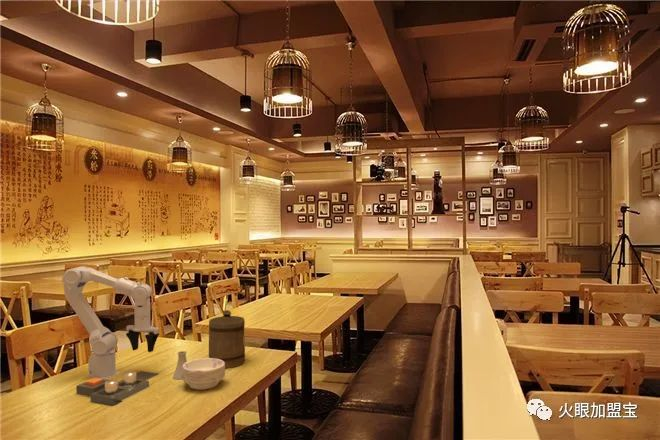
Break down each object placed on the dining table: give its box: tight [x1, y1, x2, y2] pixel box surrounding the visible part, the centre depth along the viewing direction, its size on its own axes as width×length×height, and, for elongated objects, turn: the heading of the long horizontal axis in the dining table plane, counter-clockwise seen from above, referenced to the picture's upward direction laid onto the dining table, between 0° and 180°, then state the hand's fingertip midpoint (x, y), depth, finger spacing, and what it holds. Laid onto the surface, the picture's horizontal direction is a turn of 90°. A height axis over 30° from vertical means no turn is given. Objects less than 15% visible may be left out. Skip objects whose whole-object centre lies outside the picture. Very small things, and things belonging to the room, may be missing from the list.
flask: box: [172, 350, 188, 381], centre depth 172 cm, size 7×7×10 cm
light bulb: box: [105, 379, 119, 396], centre depth 153 cm, size 4×4×6 cm
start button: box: [85, 377, 104, 386], centre depth 160 cm, size 4×4×3 cm
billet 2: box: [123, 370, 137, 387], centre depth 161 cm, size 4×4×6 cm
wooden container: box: [208, 309, 246, 369], centre depth 189 cm, size 15×15×22 cm
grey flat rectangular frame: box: [90, 378, 150, 407], centre depth 157 cm, size 10×16×2 cm, turn 159°
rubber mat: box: [136, 370, 159, 381], centre depth 173 cm, size 9×9×1 cm
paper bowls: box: [181, 357, 226, 391], centre depth 165 cm, size 15×15×8 cm
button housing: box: [75, 378, 109, 398], centre depth 160 cm, size 8×8×3 cm
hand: (143, 350), depth 176 cm, fingers open, 7 cm apart
